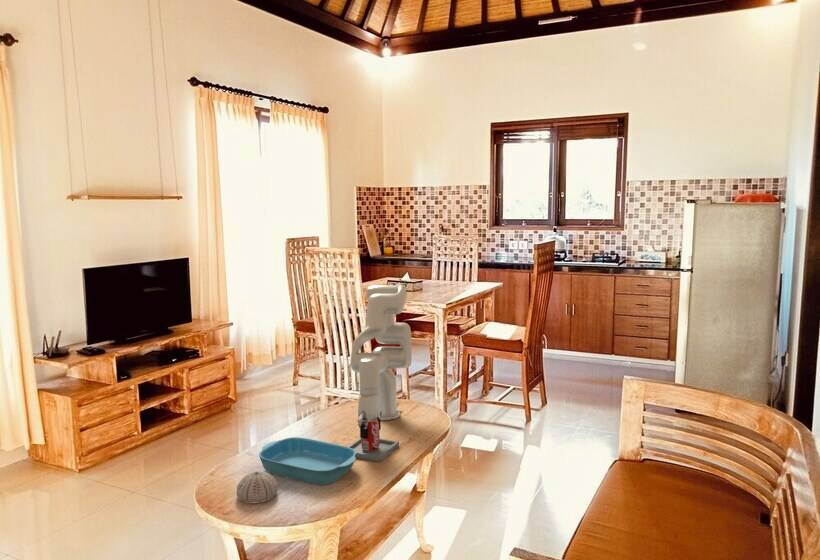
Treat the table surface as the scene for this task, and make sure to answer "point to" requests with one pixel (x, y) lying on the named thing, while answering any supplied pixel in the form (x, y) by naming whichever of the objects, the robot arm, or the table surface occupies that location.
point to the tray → (379, 454)
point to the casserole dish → (307, 460)
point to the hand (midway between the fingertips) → (370, 433)
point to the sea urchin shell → (257, 487)
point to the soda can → (371, 436)
